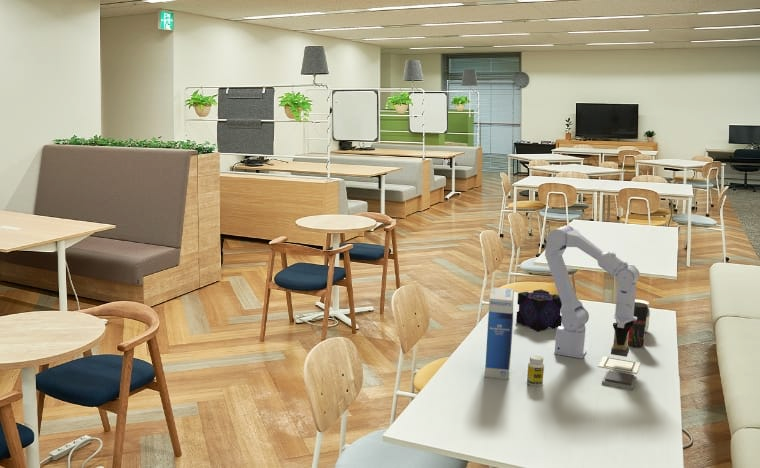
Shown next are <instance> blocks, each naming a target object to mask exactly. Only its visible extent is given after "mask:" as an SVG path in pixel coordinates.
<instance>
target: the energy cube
mask: <svg viewBox="0 0 760 468" xmlns="http://www.w3.org/2000/svg"><path fill="white" fill-rule="evenodd" d="M517 305H518V311H516V319H515V323H516V324H519V325H521V326H523V327H526V326H527V327H529V329H530V330H532V331H535V332H544V331H547V329H553V330H554V329H557V328H558V326H562V321H561V320H562V314H561V306H562V303H561V300H560V297H559V294H556V293H555V294H551V293H550V292H549V291H547V290H545V289H542V288H541V289H534V290H532V292H529V291H522V292H517Z"/></svg>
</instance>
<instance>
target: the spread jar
mask: <svg viewBox="0 0 760 468" xmlns="http://www.w3.org/2000/svg"><path fill="white" fill-rule="evenodd" d="M635 302H640V303H644V304H647V305H648V307H647V317H646V327H645V335H646V334H647V333H648V330H649V324H650V315H651V313H650V312H651V311H650V308H649V307H650V302H649V301H648V300H647V301H646V300H643V299H637V298H635Z"/></svg>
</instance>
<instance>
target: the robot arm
mask: <svg viewBox="0 0 760 468" xmlns="http://www.w3.org/2000/svg"><path fill="white" fill-rule="evenodd" d="M545 242H546V243H545V251H544V256H545V260H546V261H547V265H548V267H549V270H550V274H551V277H552V281H553V282H554V285H555V287H556V291H557V293H558V294H557V295H559V297H560V300H561V303H562V306H561V311H560V315H561V316H562V320H561V321H562V322H561V326H558V328H556V333H555V341H554V342H555V344H554V355H560V356H565V357H571V358H577V359H583V358H584V356H585V355H586V353H587V349H585V341H586V340H585V339H586V324H587V323H588V321H589V319H590V313H589V312H588V310H587V309H586V308H585V307H584V306H583V302H581V300H580V299H578V298H577V295H576V291H575V289H574V285H573V282H572V280H571V278H570V274H569V272H568V269H567V266H566V263H565V261H564V257H563V254H564V253H565V251H566V250H567V248H577V249H579V250H581V251H582V252H584V253H585V254H586V255H588V256H590V257H592V258H593V259H594V260H596V261H597V265H598V267H600V268H601V269H603V270H604V271H605V272H607V273H608V274H609V275H611V276H612V277H614V278H615V280H616V282H617V288H616V290H617V291H616V301H615V311H614V312H615V313H614V317H613V318H614V319H615V322H613V323H612V326H613V330H614V333H616V339H617V345H623V346H624V344H625V341H626V337H627V334H628V332H629V330H630V329H631V327H632V326H631V325H632V324H633V322H634V320H637V317H634V305H635V299H636V293H637V281H638V280H639V279H640V271H639V269H638V268H637V267H636V265H633V264H629V263H628V262H626V261H625V262H624V261H623V260H622V259H620V258H619V257H618V256H617V254H616V253H615V252H610V251H603V250H601V249H600V248H599V247H597V246H596V245H595V244H594V243H593V242H591V241H590V240H589V239H588V238H586V237H585V236H584V235H582V234H581V233H580V231H579V230H576V229H574V228H573V227H572V226H570V225H569V224H568V225H562V226H561V227H558V228H553V229H552V230H550V231H549V233H548V234H547V236H546V237H545Z"/></svg>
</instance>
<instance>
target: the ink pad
mask: <svg viewBox="0 0 760 468" xmlns="http://www.w3.org/2000/svg"><path fill="white" fill-rule="evenodd" d="M636 381H637V375H636V376H635V374H633V373H627V372H622V371H621V372H619V371H616V370H611V369H610V370H607V371H606V372H605V374H604V376H603V379H602V380H601V385H603V386H604V385H605V386H610V387H615V388H619V389H626V390H631V391H633V390H634V387H635V384H636Z"/></svg>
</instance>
